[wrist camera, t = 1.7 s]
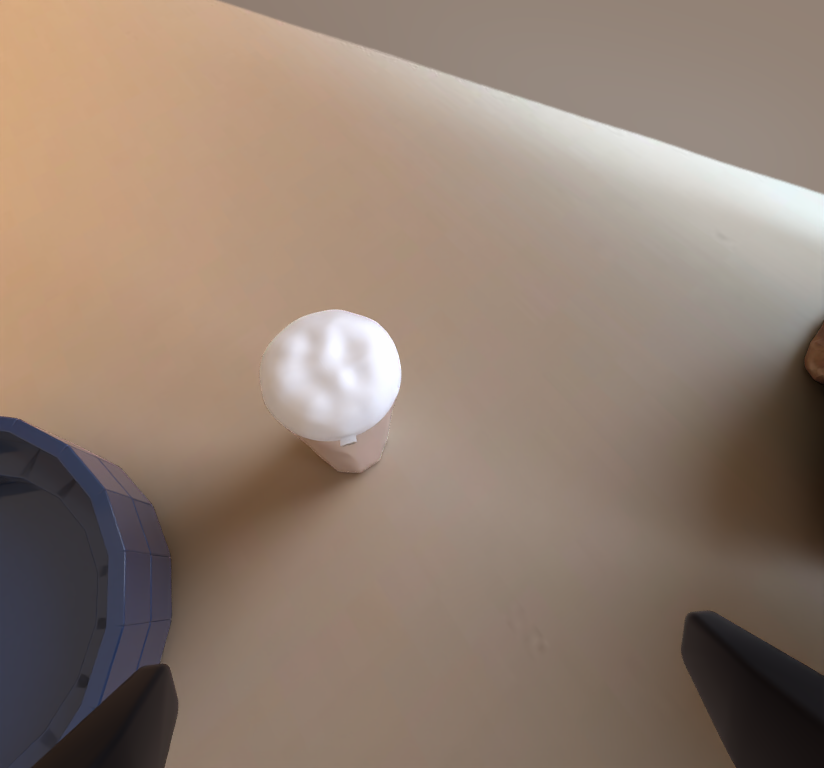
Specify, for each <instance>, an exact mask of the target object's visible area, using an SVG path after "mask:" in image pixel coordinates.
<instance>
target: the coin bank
mask: <svg viewBox="0 0 824 768" xmlns="http://www.w3.org/2000/svg"><path fill="white" fill-rule="evenodd" d="M804 363H805V368H806V370H807V371H808V372H809V374H810V375H811V377H812V378H813V379H814V380H815V381H817V382H819V383H821V384H823V385H824V322H823V325H822V327H821V328H820V330H819V331H818V332H817V334H816V335H815V337H814V338H813V339H812V341H811V342H810V345H809V347H808V350H807V353H806V355H805V358H804Z"/></svg>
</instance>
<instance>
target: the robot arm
mask: <svg viewBox="0 0 824 768" xmlns="http://www.w3.org/2000/svg"><path fill="white" fill-rule="evenodd" d="M681 653H682V658H683V661H684V664H685V666H686V668H687V670H688V672H689V674H690V676H691V678H692V680H693V682H694V684H695V687H696V689H697V691H698V693H699V695H700V697H701V699H702V701H703V703H704V705H705V707H706V709H707V711H708V713H709V715H710V717H711V719H712V722H713V724H714V726H715V728H716V730H717V732H718V734H719V736H720V738H721V740H722V742H723V744H724V746H725V748H726V750H727V752H728V754H729V756H730V757H731V759H732V761H733V763H734V764H735V766H736V768H824V676H823V675H822V674H820V673H818V672H816V671H815V670H813V669H811V668H810V667H808V666H806V665H804V664H803V663H801V662H799V661H798V660H796V659H794V658H792V657H791V656H789V655H787V654H785V653H784V652H782V651H780V650H779V649H777V648H775V647H773V646H772V645H770V644H768V643H767V642H765V641H763V640H761V639H760V638H758V637H756V636H755V635H753V634H751V633H749V632H748V631H746V630H744V629H743V628H741V627H739V626H737V625H736V624H734V623H732V622H731V621H729V620H727V619H725V618H724V617H722V616H720V615H719V614H717V613H715V612H712V611H698V612H690V613H688V614H687V616H686V618H685V624H684V631H683V638H682V645H681ZM177 714H178V698H177V694H176V690H175V686H174V682H173V678H172V674H171V670H170V668H169V666H168V665H166V664H156V665H146V666H143V667H141V668H139V669H138V670H137V671H135V672H134V673H133V674H132V675H131V676H130V677H129V678H128V679H127V680H126V681H125V682H123V683H122V684H121V685H120V686H119V687H118V688H117V689H116V690H115V691H114V692H113V693H112V694H110V695H109V696H108V697H107V698H106V699H105V700H104V701H103V702H102V703H101V704H100V705H98V706H97V707H96V708H95V709H94V710H93V711H92V712H91V713H90V714H89V715H88V716H87V717H85V718H84V719H83V720H82V721H81V722H80V723H79V724H78V725H77V726H76V727H75V728H73V729H72V730H71V731H70V732H69V733H68V734H67V735H66V736H65V737H64V738H63V739H62V740H60V741H59V742H58V743H57V744H56V745H55V746H54V747H53V748H52V749H51V750H50V751H48V752H47V753H46V754H45V755H44V756H43V757H42V758H41V759H40V760H39V761H38V762H37V763H35V764H34V765H33V766H32V767H31V768H164V767H165V763H166V759H167V755H168V751H169V747H170V743H171V739H172V735H173V731H174V727H175V723H176V719H177Z"/></svg>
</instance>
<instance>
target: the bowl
mask: <svg viewBox="0 0 824 768" xmlns="http://www.w3.org/2000/svg"><path fill="white" fill-rule="evenodd" d="M170 557H171V555H170V552H169V549H168V546H167V543H166V541H165V538H164V535H163V532H162V529H161V526H160V524H159V521H158V518H157V515H156V512H155V510H154V507H153V506H152V503H151V502H150V501H149V500H148V499H147V498H146V496H145V495H144V494H143V493H142V492H141V491H140V489H139V488H138V487H137V486H136V485H135V484H134V483H133V481H132V480H131V479H130V478H129V477H128V476H127V474H126V473H125V472H124V471H123V470H122V469H121V468H120V467H119V466H117V465H115V464H113V463H111V462H109V461H107V460H106V459H104V458H102V457H100V456H98V455H96V454H94V453H92V452H90V451H88V450H86V449H84V448H83V447H81V446H79V445H77V444H74V443H72V442H70V441H68V440H65V439H63V438H61V437H59V436H56V435H54V434H52V433H50V432H47V431H45V430H43V429H41V428H39V427H36V426H34V425H32V424H30V423H27V422H25V421H23V420H21V419H17V418H11V417H4V416H0V768H31V767H32V766H33V765H34V764H35V763H37V762H38V761H39V760H40V759H41V758H42V757H43V756H44V755H45V754H46V753H47V752H48V751H50V750H51V749H52V748H53V747H54V746H55V745H56V744H57V743H58V742H59V741H60V740H62V739H63V738H64V737H65V736H66V735H67V734H68V733H69V732H70V731H71V730H72V729H73V728H75V727H76V726H77V725H78V724H79V723H80V722H81V721H82V720H83V719H84V718H85V717H87V716H88V715H89V714H90V713H91V712H92V711H93V710H94V709H95V708H96V707H97V706H98V705H100V704H101V703H102V702H103V701H104V700H105V699H106V698H107V697H108V696H109V695H110V694H112V693H113V692H114V691H115V690H116V689H117V688H118V687H119V686H120V685H121V684H122V683H123V682H125V681H126V680H127V679H128V678H129V677H130V676H131V675H132V674H133V673H134V672H135V671H137V670H138V669H139V668H141V667H143V666H146V665H156V664H160V660H161V657H162V653H163V650H164V646H165V643H166V639H167V635H168V632H169V628H170V625H171V618H172V588H171V558H170Z"/></svg>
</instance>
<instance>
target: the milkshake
mask: <svg viewBox="0 0 824 768" xmlns="http://www.w3.org/2000/svg"><path fill="white" fill-rule="evenodd" d="M259 378H260V387H261V392H262V397H263V400H264V403H265V405H266V407H267V409H268V410H269V412H270V413H271V414H272V416H273V417H274V418H275V419H276V420H277V421H278V422H279V423H281V424H282V425H283V426H284V427H285V428H287V429H288V430H289V431H290V432H292V433H293V434H294V435H295V436H297V437H298V438H299V439H300V440H302V441H303V442H304V443H306V444H307V445H308V446H309V447H310V448H311V449H312V450H313V451H314V452H315V453H316V454H317V455H318V456H319V457H320V458H322V459H323V460H324V461H325V462H327V463H328V464H329V465H330V466H332V467H333V468H334V469H335V470H337V471H338V472H356V473H361V472H363V471H364V470H366V469H367V468H369V467H370V466H372V465H373V464H375V463H376V462H378V461H379V460H380V458H381V455H382V453H383V450H384V447H385V445H386V442H387V440H388V435H389V429H390V423H391V418H392V412H393V409H394V406H395V402H396V398H397V395H398V391H399V388H400V383H401V365H400V360H399V356H398V352H397V349H396V347H395V344H394V342H393V341H392V339H391V337H390V336H389V334H388V333H387V332H386V331H385V330H384V328H383V327H382V326H380V325H379V324H378V323H377V322H375V321H374V320H372V319H370V318H368V317H365V316H362V315H358V314H355V313H352V312H348V311H344V310H337V309H333V310H325V311H320V312H316V313H312V314H309V315H306V316H303V317H301V318H298V319H297V320H295V321H293V322H292V323H290V324H289V325H288V326H286V327H285V328H284V329H283V330H282V331H281V332H280V333H278V334H277V335H276V336H275V337H274V339H273V340H272V341H271V342H270V343H269V345H268V346H267V348H266V349H265V351H264V353H263V356H262V359H261V363H260V370H259Z"/></svg>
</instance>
